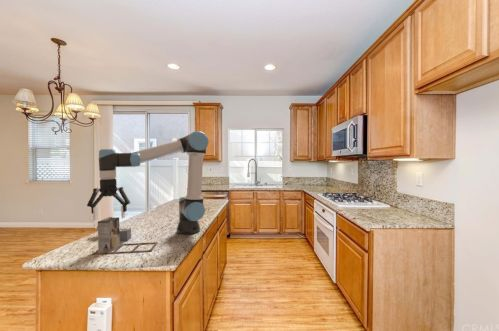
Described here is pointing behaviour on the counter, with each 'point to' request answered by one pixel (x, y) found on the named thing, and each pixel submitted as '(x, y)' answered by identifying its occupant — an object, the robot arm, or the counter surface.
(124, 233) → the die
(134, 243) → the brown flat frame
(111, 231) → the coffee box
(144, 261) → the counter surface
